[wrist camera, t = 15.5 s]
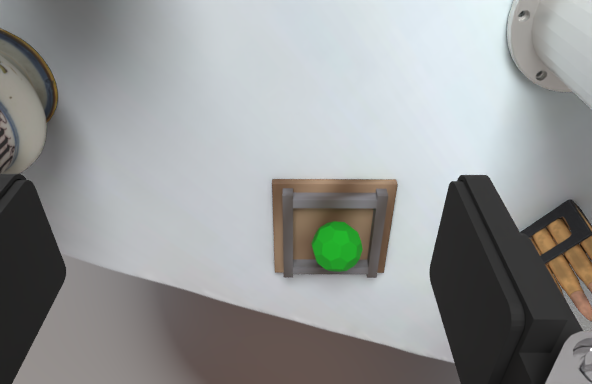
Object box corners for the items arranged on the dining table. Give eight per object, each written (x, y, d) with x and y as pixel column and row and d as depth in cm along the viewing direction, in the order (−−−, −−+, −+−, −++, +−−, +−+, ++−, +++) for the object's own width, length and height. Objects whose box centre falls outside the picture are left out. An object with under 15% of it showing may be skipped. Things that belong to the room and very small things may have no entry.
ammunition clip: (570, 198, 49) (637, 289, 39) (580, 208, 50) (648, 299, 40) (482, 257, 54) (523, 350, 44) (492, 265, 55) (534, 358, 45)
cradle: (396, 179, 48) (399, 191, 46) (382, 267, 55) (385, 280, 53) (272, 179, 48) (271, 191, 46) (275, 267, 55) (274, 280, 53)
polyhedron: (301, 231, 51) (301, 265, 47) (334, 203, 48) (338, 236, 45) (335, 255, 53) (338, 289, 49) (369, 229, 50) (375, 262, 47)
